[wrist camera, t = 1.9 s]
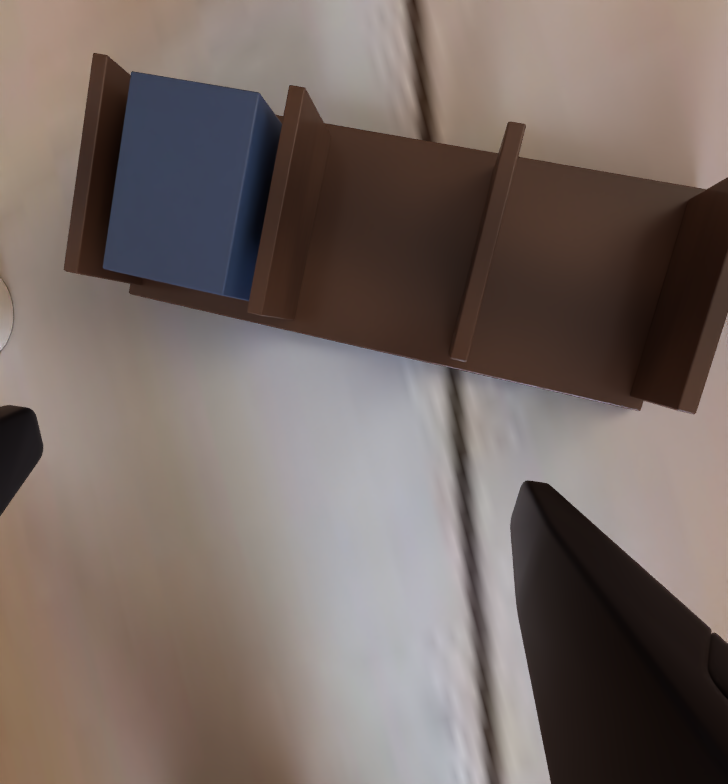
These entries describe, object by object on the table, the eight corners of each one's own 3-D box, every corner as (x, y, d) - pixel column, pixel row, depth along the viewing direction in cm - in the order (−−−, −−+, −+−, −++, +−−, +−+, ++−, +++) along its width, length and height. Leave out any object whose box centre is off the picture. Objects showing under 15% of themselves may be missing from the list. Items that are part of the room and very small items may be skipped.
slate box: (263, 304, 22) (222, 295, 18) (162, 281, 23) (101, 268, 19) (294, 139, 21) (259, 92, 17) (188, 120, 22) (130, 70, 18)
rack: (633, 409, 21) (691, 429, 16) (138, 295, 24) (60, 283, 19) (697, 195, 20) (780, 147, 15) (168, 102, 23) (94, 37, 18)
